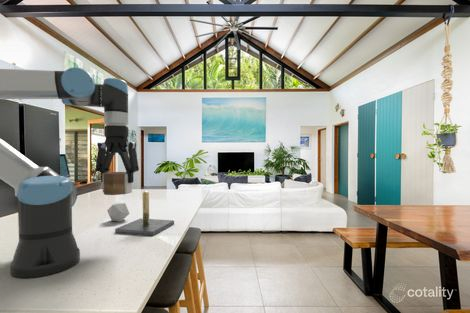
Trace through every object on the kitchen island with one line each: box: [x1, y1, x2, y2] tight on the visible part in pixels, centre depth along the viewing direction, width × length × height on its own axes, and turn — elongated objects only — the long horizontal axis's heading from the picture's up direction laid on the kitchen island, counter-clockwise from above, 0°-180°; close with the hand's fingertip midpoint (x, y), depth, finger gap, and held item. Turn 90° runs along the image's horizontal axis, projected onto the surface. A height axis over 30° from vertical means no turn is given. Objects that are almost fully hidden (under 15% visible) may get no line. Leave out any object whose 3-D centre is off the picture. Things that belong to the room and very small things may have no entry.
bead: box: [103, 171, 132, 196], centre depth 91 cm, size 8×8×7 cm
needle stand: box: [114, 190, 175, 236], centre depth 105 cm, size 16×16×15 cm
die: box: [107, 202, 130, 223], centre depth 118 cm, size 8×9×10 cm
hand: (117, 192), depth 91 cm, fingers closed on bead, 8 cm apart
